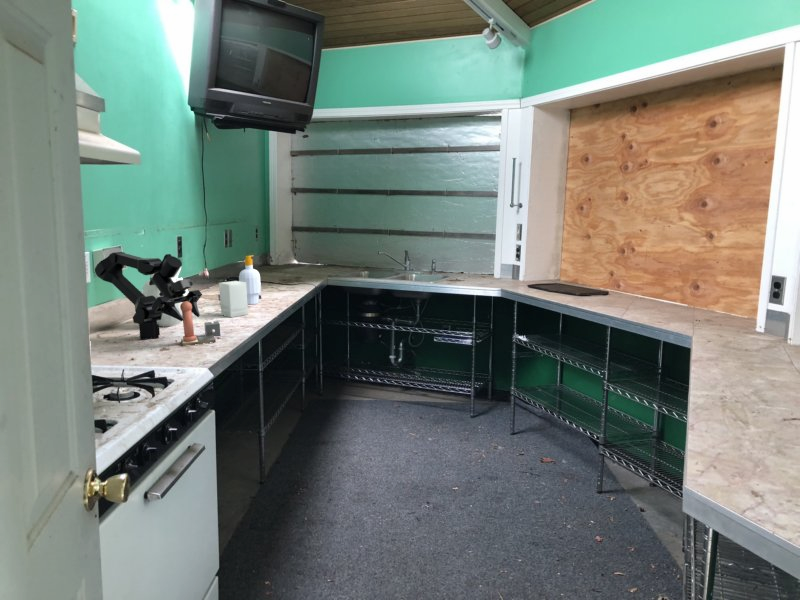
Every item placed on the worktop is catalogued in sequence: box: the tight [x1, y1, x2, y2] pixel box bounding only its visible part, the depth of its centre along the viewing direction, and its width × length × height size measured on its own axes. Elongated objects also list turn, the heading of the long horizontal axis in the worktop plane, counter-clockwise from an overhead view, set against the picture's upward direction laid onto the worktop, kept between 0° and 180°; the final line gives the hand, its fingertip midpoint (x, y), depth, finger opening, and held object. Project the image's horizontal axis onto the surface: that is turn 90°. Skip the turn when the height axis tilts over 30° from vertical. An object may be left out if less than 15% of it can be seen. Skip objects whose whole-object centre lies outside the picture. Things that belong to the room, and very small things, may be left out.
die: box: [204, 320, 221, 337], centre depth 207 cm, size 5×6×6 cm
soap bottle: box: [238, 255, 262, 306], centre depth 271 cm, size 10×10×24 cm
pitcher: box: [141, 266, 190, 327], centre depth 227 cm, size 19×18×25 cm
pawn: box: [180, 301, 197, 342], centre depth 195 cm, size 4×4×14 cm
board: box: [180, 336, 217, 347], centre depth 198 cm, size 11×7×1 cm, turn 116°
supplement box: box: [218, 280, 249, 318], centre depth 245 cm, size 9×9×15 cm
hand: (190, 318), depth 194 cm, fingers open, 7 cm apart
